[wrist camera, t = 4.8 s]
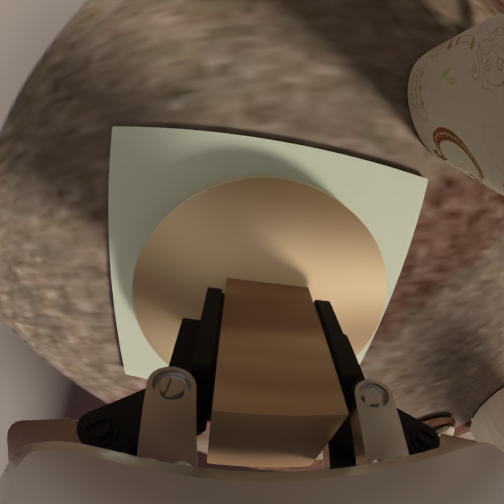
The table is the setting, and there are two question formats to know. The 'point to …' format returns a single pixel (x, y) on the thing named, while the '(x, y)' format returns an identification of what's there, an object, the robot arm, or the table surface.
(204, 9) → the table surface
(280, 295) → the lid
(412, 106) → the mug
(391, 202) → the mat
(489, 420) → the paper towel roll
